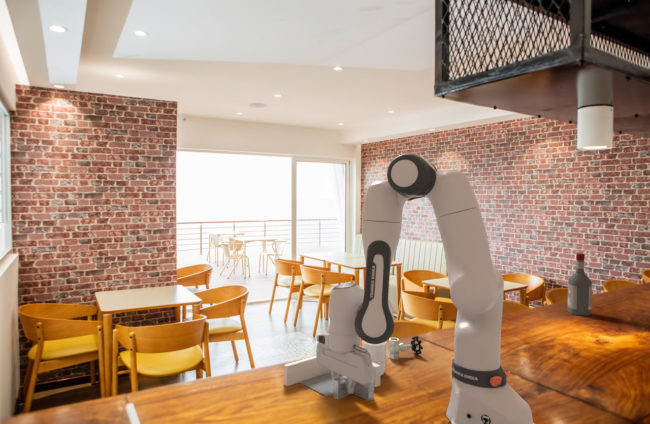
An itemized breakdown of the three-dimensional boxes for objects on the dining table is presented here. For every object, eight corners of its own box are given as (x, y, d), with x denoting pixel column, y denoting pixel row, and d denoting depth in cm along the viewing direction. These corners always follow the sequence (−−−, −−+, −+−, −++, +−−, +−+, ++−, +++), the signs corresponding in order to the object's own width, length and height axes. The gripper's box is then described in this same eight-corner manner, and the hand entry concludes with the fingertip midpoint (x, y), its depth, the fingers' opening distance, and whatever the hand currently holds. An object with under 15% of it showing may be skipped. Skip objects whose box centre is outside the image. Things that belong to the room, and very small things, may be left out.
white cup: (366, 378, 135) (367, 346, 135) (358, 368, 143) (358, 338, 142) (390, 375, 137) (390, 344, 137) (380, 366, 145) (380, 336, 144)
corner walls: (380, 385, 130) (380, 365, 130) (324, 407, 115) (324, 385, 115) (338, 367, 144) (338, 349, 144) (283, 384, 129) (284, 364, 129)
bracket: (353, 389, 127) (353, 372, 127) (373, 398, 121) (373, 381, 121) (332, 397, 122) (333, 379, 122) (352, 407, 116) (353, 388, 116)
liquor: (572, 315, 215) (573, 254, 214) (566, 310, 224) (567, 252, 223) (592, 316, 213) (594, 255, 212) (585, 311, 222) (587, 253, 221)
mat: (364, 383, 131) (364, 382, 131) (326, 397, 122) (326, 396, 122) (337, 371, 140) (337, 370, 140) (300, 383, 131) (300, 382, 131)
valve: (393, 361, 150) (422, 357, 154) (393, 342, 149) (423, 338, 154) (383, 355, 156) (412, 351, 160) (384, 337, 156) (412, 333, 160)
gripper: (379, 348, 117) (378, 399, 117) (329, 330, 132) (328, 375, 133) (362, 353, 113) (361, 406, 113) (312, 334, 128) (312, 380, 129)
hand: (343, 389), depth 123 cm, fingers open, 4 cm apart
